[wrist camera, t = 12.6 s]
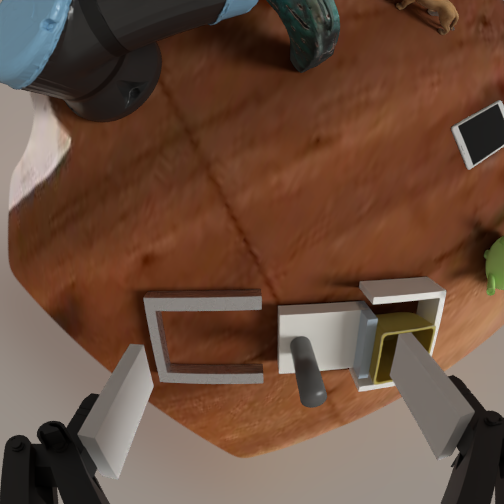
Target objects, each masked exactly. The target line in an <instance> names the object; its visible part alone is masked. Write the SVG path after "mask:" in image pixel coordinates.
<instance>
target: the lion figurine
mask: <svg viewBox="0 0 504 504" xmlns="http://www.w3.org/2000/svg"><path fill="white" fill-rule="evenodd" d="M415 1H416V2H417V3H419V4H420V5H422V6H424V7H426V8H428V13H429V14H430V15H433V16H439V21H440V23H441V25H442V27H443V28H444V30H443V29H442V28H440V29H438V31H439V33H440V34H441V35H445V34H446V33H448V32H449V31H450V29H451V30H454V27H453V26H454V25H455V24H456V23H457V21H458V13H457V11H456V9H455V7H454V6H453V4H452V3H451V2H450V1H448V0H403V2H401V3H397V4H396V7H397V8H398V9H399V10H402V9H404V8H405V7H406V6H407V5H409V4H411V3H414V2H415ZM433 10H435V11H436V12H434V11H433ZM452 20H453V21H452ZM451 21H452V23H451V25H450V26H449V24H450V22H451ZM449 27H450V28H449Z"/></svg>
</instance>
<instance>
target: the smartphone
mask: <svg viewBox="0 0 504 504" xmlns="http://www.w3.org/2000/svg"><path fill="white" fill-rule="evenodd" d="M451 131H452V133H453V136H454V138H455V140H456V143H457V145H458V148H459V150H460V153H461V155H462V158H463V160H464V163H465V165H466V168H467V169H468V170H470V169H471V168H473V167H474V166H476V165H477V164H479V163H480V162H482V161H483V160H485V159H486V158H488V157H489V156H490V155H492V154H493V153H495V152H496V151H498V150H499V149H501V148H502V147H503V146H504V106H503V104H502V102H501V101H500V100H498V101H497V102H495V103H493V104H491V105H489V106H488V107H486V108H484V109H482V110H480V111H479V112H477V113H475V114H473V115H471V116H469V117H467V118H466V119H464V120H462V121H461V122H459V123H457V124H455V125H454V126H452V127H451Z"/></svg>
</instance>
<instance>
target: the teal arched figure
mask: <svg viewBox="0 0 504 504" xmlns="http://www.w3.org/2000/svg"><path fill="white" fill-rule="evenodd" d="M267 2H268V3H269V4H270V5H271V6H272V7H273V9H274V10H275V11H276V12H277V13H278V15H279V17H280V18H281V20H282V22H283V24H284V25H285V27H286V29H287V32H288V35H289V37H290V60H291V62H292V64H293V66H294V67H295V68H296V69H297V70H298V71H299V72H300V73H302V72H305V71H307V70H309V69H310V68H313V67H316V66H318V65H319V64H320V63H322V62H323V61H325V60H326V59H328V58H329V57H330V56H332V55H333V53H334V47H335V45H336V43H337V41H338V37H339V32H340V21H339V15H338V11H337V8H336V5H335V2H334V0H267Z"/></svg>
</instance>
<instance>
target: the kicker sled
mask: <svg viewBox="0 0 504 504" xmlns="http://www.w3.org/2000/svg"><path fill="white" fill-rule="evenodd" d="M377 322H378V318H377V317H376V316H375V314H374V313H373V312H372V310H371V309H370V308H369V306H368V305H367V304H366V303H365V301H354V302H339V303H323V304H305V305H284V306H278V369H279V374H282V373H295V374H296V379H297V384H298V389H299V394H300V400H301V403H302V404H303V405H304V406H306V407H317V406H320V405H321V404H323V403H324V402H325V400H326V398H327V393H326V390H325V387H324V384H323V380H322V377H321V374H320V371H324V370H334V369H344V368H354V371H355V373H356V375H357V377H358V379H361V378H368V374H369V369H370V363H371V358H372V353H373V347H374V341H375V334H376V328H377Z"/></svg>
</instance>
